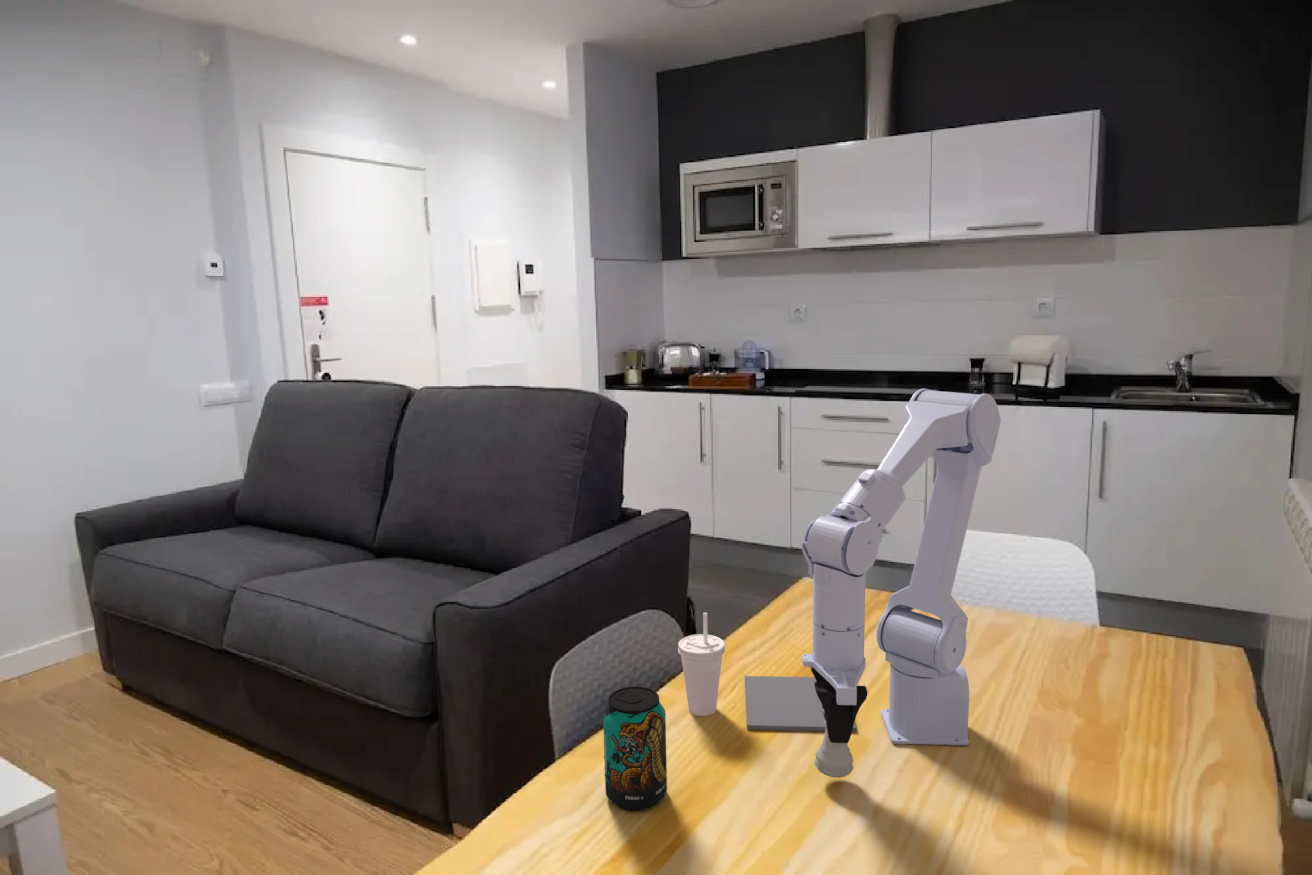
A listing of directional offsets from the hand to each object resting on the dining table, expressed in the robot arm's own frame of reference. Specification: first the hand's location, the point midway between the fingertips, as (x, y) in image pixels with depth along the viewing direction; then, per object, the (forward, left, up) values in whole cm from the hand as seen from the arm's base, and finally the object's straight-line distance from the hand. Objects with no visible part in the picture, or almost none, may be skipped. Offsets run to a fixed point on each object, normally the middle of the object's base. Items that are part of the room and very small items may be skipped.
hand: (836, 732), depth 96 cm
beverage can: (+23, +4, -6) cm, 24 cm away
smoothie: (+16, -16, -6) cm, 23 cm away
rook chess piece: (0, 0, -5) cm, 5 cm away
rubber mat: (+3, -18, -6) cm, 19 cm away
